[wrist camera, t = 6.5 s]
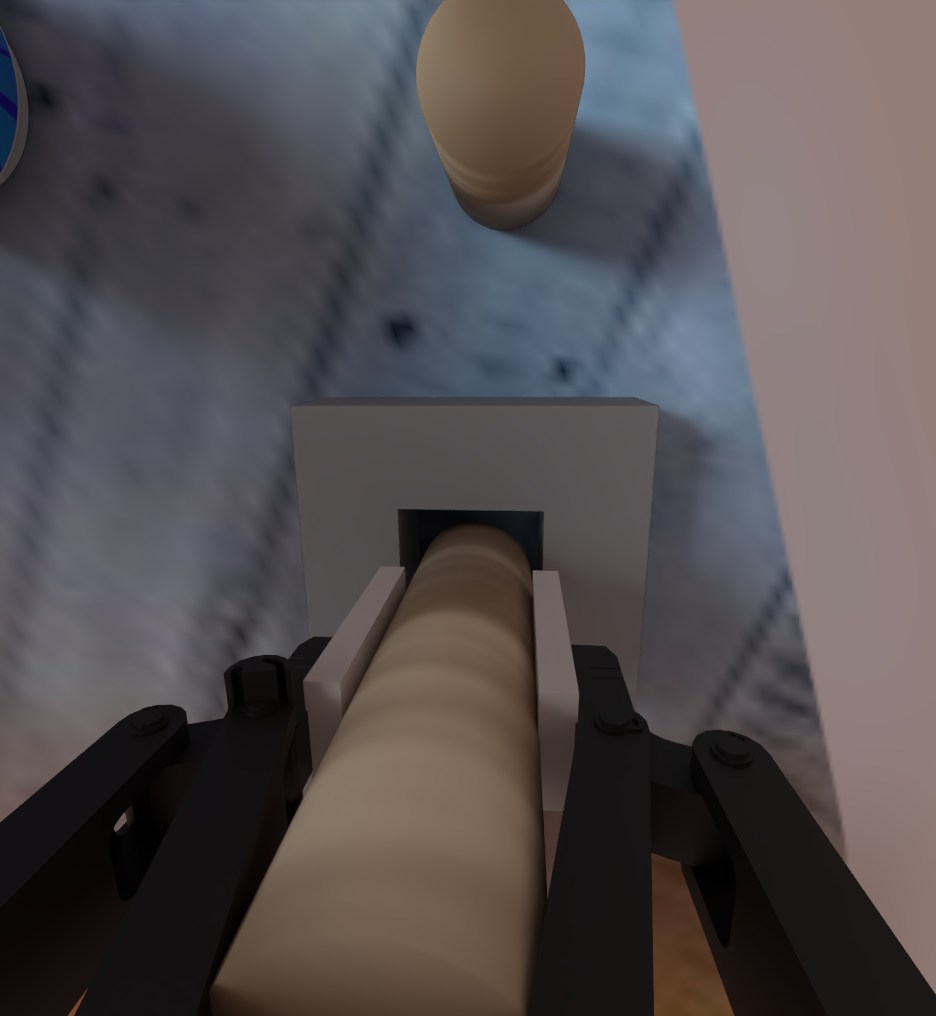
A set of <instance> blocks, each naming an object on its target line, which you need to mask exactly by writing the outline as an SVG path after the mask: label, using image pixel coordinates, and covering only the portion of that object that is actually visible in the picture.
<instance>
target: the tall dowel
mask: <svg viewBox="0 0 936 1016" xmlns="http://www.w3.org/2000/svg"><path fill="white" fill-rule="evenodd" d="M546 906H547V882H546V861H545V841H544V820H543V800H542V779H541V759H540V742H539V737H538V722H537V700H536V678H535V655H534V633H533V610H532V574H531V565H530V561H529V558H528V555H527V553H526V551H525V550H524V548H523V547H522V545H521V544H520V543H519V541H518V540H517V539H516V538H515V537H514V536H513V535H511V534H510V533H509V532H507V531H506V530H504V529H502V528H500V527H498V526H495V525H493V524H489V523H484V522H465V523H460V524H457V525H454V526H452V527H450V528H448V529H446V530H444V531H443V532H441V533H440V534H439V535H438V536H437V537H436V538H435V539H434V540H433V541H432V542H431V544H430V545H429V547H428V548H427V550H426V552H425V554H424V556H423V558H422V560H421V562H420V564H419V566H418V568H417V570H416V572H415V574H414V576H413V578H412V580H411V582H410V584H409V586H408V589H407V591H406V593H405V595H404V597H403V599H402V601H401V603H400V605H399V607H398V609H397V611H396V613H395V615H394V617H393V619H392V621H391V623H390V625H389V627H388V629H387V631H386V633H385V635H384V637H383V639H382V641H381V643H380V645H379V647H378V649H377V651H376V653H375V655H374V657H373V659H372V661H371V663H370V665H369V667H368V669H367V671H366V673H365V675H364V677H363V679H362V681H361V683H360V685H359V687H358V689H357V691H356V693H355V695H354V697H353V699H352V701H351V703H350V705H349V707H348V709H347V711H346V713H345V715H344V717H343V719H342V721H341V723H340V725H339V727H338V729H337V731H336V733H335V735H334V737H333V739H332V741H331V743H330V745H329V747H328V749H327V751H326V753H325V755H324V757H323V759H322V761H321V763H320V765H319V767H318V769H317V771H316V773H315V775H314V778H313V780H312V782H311V784H310V786H309V788H308V790H307V792H306V794H305V796H304V798H303V800H302V802H301V804H300V806H299V808H298V810H297V812H296V814H295V816H294V818H293V820H292V822H291V824H290V826H289V828H288V830H287V832H286V834H285V836H284V838H283V840H282V842H281V844H280V846H279V848H278V850H277V852H276V854H275V856H274V858H273V860H272V862H271V864H270V866H269V868H268V870H267V872H266V874H265V876H264V878H263V880H262V882H261V884H260V886H259V888H258V890H257V892H256V894H255V896H254V898H253V900H252V902H251V904H250V906H249V908H248V910H247V912H246V914H245V916H244V918H243V920H242V922H241V924H240V926H239V928H238V930H237V932H236V934H235V936H234V938H233V940H232V942H231V944H230V946H229V948H228V950H227V952H226V954H225V956H224V958H223V960H222V962H221V965H220V967H219V969H218V971H217V973H216V975H215V977H214V980H213V982H212V984H211V987H210V989H209V991H208V992H209V998H210V1004H211V1010H212V1016H527V1013H528V1007H529V1002H530V996H531V990H532V985H533V979H534V974H535V968H536V962H537V957H538V951H539V945H540V940H541V934H542V928H543V923H544V917H545V911H546Z"/></svg>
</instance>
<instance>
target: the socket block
mask: <svg viewBox="0 0 936 1016" xmlns="http://www.w3.org/2000/svg"><path fill="white" fill-rule="evenodd" d="M290 412H291V424H292V436H293V448H294V460H295V472H296V483H297V495H298V507H299V519H300V531H301V543H302V555H303V566H304V578H305V590H306V602H307V614H308V626H309V638H312V637H314V636H317V637H333V636H334V635H335V633H336V632H337V630H338V629H339V627H340V626H341V624H342V623H343V621H344V620H345V619H346V617H347V616H348V614H349V613H350V611H351V610H352V608H353V607H354V605H355V604H356V602H357V601H358V599H359V598H360V596H361V595H362V594H363V592H364V591H365V589H366V588H367V586H368V585H369V583H370V582H371V580H372V579H373V577H374V576H375V574H376V573H377V571H378V570H379V568H380V567H381V566H384V567H405V583H406V591H407V589H408V586H409V584H410V582H411V580H412V578H413V576H414V574H415V572H416V570H417V568H418V566H419V564H420V554H419V520H418V509H428V510H492V511H539V542H538V571H558V574H559V580H560V586H561V592H562V598H563V603H564V609H565V615H566V621H567V626H568V632H569V638H570V644H571V645H596V646H606V647H607V648H608V649H609V650H610V651H612V652H613V653H614V654H615V655H616V656H617V658H618V661H619V664H620V667H621V671H622V674H623V677H624V680H625V683H626V686H627V689H628V692H629V695H630V698H631V702H632V705H633V708H634V711H635V712H636V701H637V688H638V675H639V662H640V649H641V636H642V623H643V610H644V597H645V584H646V571H647V559H648V546H649V533H650V520H651V507H652V494H653V481H654V468H655V455H656V442H657V429H658V417H659V406H658V405H655V404H652V403H649V402H646V401H643V400H640V399H637V398H325V399H320V400H315V401H311V402H306V403H301V404H296V405H291V406H290Z"/></svg>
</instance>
